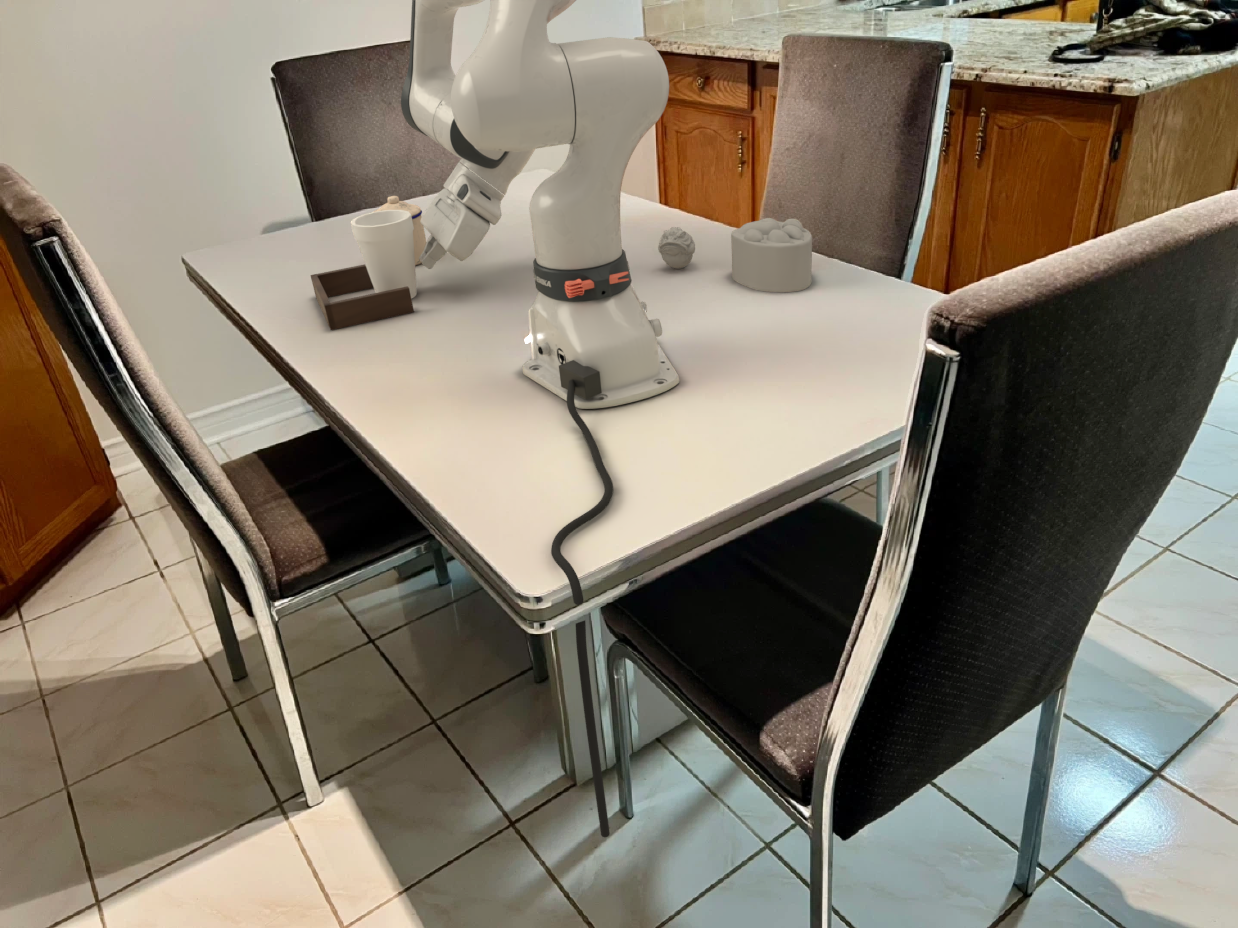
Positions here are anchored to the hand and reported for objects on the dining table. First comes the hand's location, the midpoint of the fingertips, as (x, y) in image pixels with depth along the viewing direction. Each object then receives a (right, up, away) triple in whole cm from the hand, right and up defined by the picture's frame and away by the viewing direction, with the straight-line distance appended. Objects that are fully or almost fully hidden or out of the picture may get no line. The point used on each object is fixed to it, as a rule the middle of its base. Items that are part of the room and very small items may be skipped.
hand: (424, 264), depth 154 cm
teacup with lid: (-8, +4, +17) cm, 19 cm away
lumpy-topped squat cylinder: (+56, -4, -7) cm, 57 cm away
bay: (-9, -7, -1) cm, 11 cm away
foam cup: (-5, -5, +1) cm, 7 cm away
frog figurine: (+42, 0, +2) cm, 42 cm away
